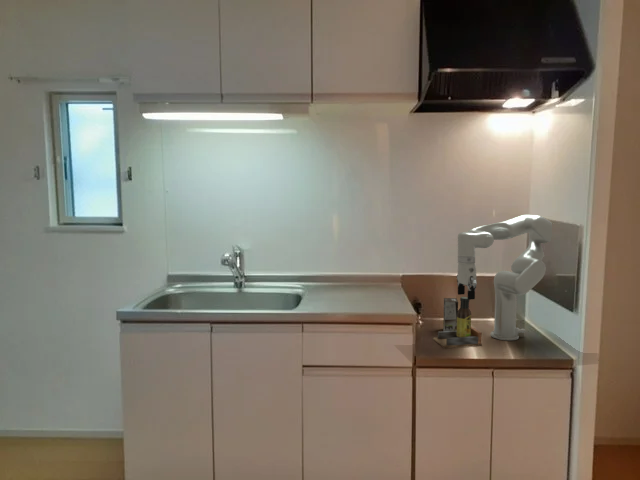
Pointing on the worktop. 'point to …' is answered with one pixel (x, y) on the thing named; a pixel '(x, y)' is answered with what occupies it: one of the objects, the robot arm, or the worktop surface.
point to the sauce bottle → (464, 319)
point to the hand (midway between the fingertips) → (466, 296)
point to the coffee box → (450, 314)
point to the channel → (458, 339)
